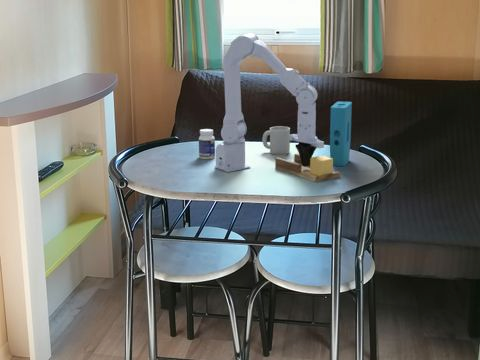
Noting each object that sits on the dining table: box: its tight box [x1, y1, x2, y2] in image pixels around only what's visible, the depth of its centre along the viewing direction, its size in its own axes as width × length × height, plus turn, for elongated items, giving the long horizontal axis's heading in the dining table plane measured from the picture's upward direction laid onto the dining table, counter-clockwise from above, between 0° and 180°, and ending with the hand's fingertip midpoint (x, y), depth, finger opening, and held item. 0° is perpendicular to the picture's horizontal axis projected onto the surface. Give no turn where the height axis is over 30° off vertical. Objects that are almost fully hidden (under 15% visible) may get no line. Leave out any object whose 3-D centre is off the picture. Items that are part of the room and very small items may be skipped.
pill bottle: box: [198, 128, 216, 160], centre depth 238 cm, size 6×6×10 cm
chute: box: [274, 153, 341, 183], centre depth 219 cm, size 9×21×4 cm, turn 35°
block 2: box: [329, 101, 353, 167], centre depth 228 cm, size 12×5×20 cm, turn 160°
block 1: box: [310, 155, 334, 176], centre depth 213 cm, size 5×5×5 cm
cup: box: [261, 125, 291, 156], centre depth 244 cm, size 7×10×9 cm
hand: (305, 165), depth 219 cm, fingers closed
